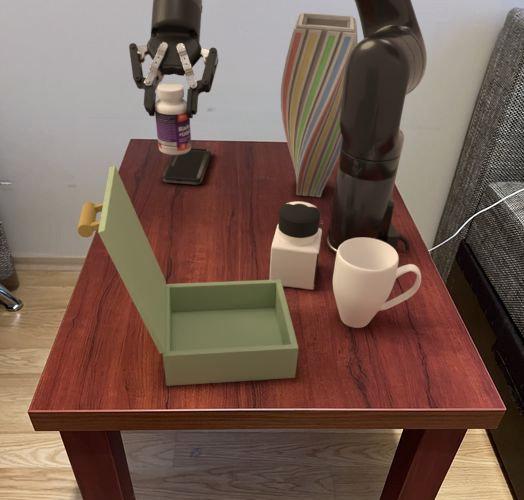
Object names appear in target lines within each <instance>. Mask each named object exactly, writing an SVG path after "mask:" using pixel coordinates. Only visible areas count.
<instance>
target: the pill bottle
mask: <svg viewBox="0 0 524 500" xmlns="http://www.w3.org/2000/svg"><path fill="white" fill-rule="evenodd" d="M184 90H185V88H184V85H182V84H181V83H178V82H177V83H176V82H164V83H159V85H158V87H157V89H156V91H157V97H158V99H157V100H156V103H155V116H154V117H155V124H156V125H155V126H156V138H157V146H158V150H159V152H161V153H163V154H165V155H170V156H172V155H181V154H185V153H187V152H189V151H190V149H191V148H192V134H191V133H192V132H191V118H188V117H187V113H186V108H187V99H185V91H184Z"/></svg>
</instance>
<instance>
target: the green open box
mask: <svg viewBox="0 0 524 500" xmlns="http://www.w3.org/2000/svg"><path fill="white" fill-rule="evenodd" d="M298 356H299V344H298V341H297V337H296V333H295V329H294V325H293V321H292V318H291V313H290V310H289V306H288V301H287V298H286V294H285V291H284V286H282V282H281V279H277V280H269V279H257V280H234V281H230V280H229V281H209V282H208V281H207V282H186V283H185V282H184V283H166V324H165V353H162V359H163V369H164V376H165V385H166V387H170V386H171V387H172V386H186V385H203V384H204V385H205V384H218V383H219V384H220V383H233V382H248V381H249V382H250V381H264V380H280V379H295V378H296V373H297V364H298Z"/></svg>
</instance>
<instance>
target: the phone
mask: <svg viewBox="0 0 524 500" xmlns="http://www.w3.org/2000/svg"><path fill="white" fill-rule="evenodd" d="M211 158H212V151H211V150H210V149H207V148H193V147H191V149H190V151H189V152H187V153H185V154H181V155H171V158H170V160H169V161H168V164H167V165H166V167H165V169H164V172H163V173H162V182H164V183H166V184H178V185H179V184H180V185H191V186H199V185H200V184H202V182H203V180H204V177H205V174H206V171H207V168H208V166H209V163H210V160H211Z"/></svg>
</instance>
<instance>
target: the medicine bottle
mask: <svg viewBox="0 0 524 500" xmlns="http://www.w3.org/2000/svg"><path fill="white" fill-rule="evenodd" d="M278 213H279V214H278V224H277V225H276V228H275V231H274V232H275V233H274V236H273V239H272V243H271V247H270V261H269V262H270V263H269V279H268V280H277V279H281V282H282V286H283V287H286V288H287V287H288V288H294V289H303V290H310V291H312V290H314V289H315V285H316V278H317V274H318V273H317V272H318V265H319V257H320V250H321V242H322V236H323V235H322V234H323V229H322V228H321V227H319V226H320V218H321V212H320V209H319V208H318V207H317V206H316V205H314V204H312V203H309V202H306V201H290V202H287V203H285V204H283V205H282V206H281V207H280V208H279V212H278Z"/></svg>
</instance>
